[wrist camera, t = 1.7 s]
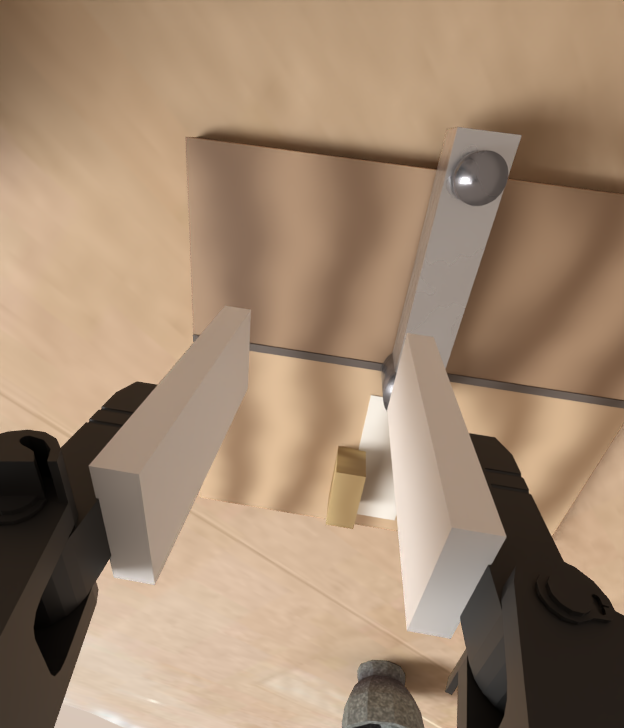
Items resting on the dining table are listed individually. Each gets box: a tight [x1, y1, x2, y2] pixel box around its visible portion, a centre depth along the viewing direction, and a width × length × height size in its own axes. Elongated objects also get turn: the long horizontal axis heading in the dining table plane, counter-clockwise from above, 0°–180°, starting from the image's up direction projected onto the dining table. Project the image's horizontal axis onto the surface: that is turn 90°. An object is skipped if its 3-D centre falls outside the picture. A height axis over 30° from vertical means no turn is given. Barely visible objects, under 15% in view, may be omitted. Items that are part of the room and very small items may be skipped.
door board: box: [186, 137, 624, 536], centre depth 29 cm, size 32×30×5 cm
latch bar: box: [381, 127, 522, 411], centre depth 24 cm, size 17×4×4 cm, turn 174°
